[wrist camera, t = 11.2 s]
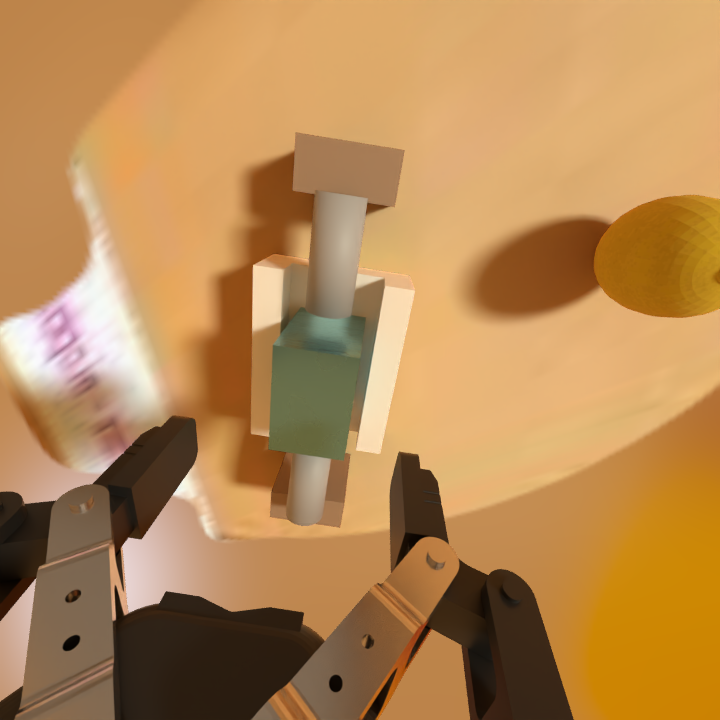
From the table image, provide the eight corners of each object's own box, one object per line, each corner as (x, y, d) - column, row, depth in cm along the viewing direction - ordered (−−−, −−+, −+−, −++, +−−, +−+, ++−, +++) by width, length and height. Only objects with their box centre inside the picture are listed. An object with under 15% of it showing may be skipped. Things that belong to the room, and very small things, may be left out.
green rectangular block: (300, 307, 21) (272, 345, 16) (365, 317, 21) (360, 358, 16) (294, 391, 24) (268, 449, 18) (352, 400, 24) (344, 460, 18)
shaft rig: (278, 138, 19) (224, 108, 13) (432, 163, 19) (458, 146, 13) (266, 464, 29) (232, 542, 23) (367, 479, 29) (363, 562, 23)
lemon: (647, 295, 22) (780, 344, 14) (556, 291, 22) (642, 337, 15) (685, 197, 19) (866, 196, 12) (583, 193, 20) (701, 191, 12)
